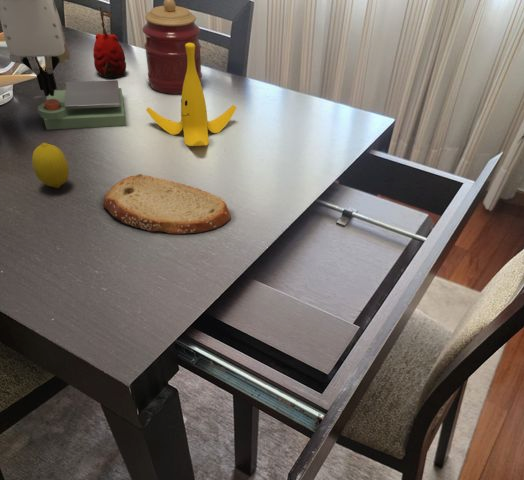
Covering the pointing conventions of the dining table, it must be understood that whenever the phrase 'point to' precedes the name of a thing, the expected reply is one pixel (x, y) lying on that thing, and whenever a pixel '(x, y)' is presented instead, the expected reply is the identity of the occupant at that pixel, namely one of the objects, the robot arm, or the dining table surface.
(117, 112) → the scale
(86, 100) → the scale pan
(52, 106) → the tare button
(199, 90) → the banana peel
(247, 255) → the dining table surface
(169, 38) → the kitchen canister
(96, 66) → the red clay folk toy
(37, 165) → the lemon
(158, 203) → the bread slice
